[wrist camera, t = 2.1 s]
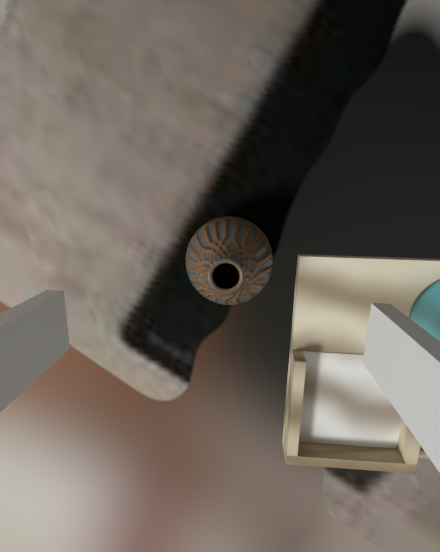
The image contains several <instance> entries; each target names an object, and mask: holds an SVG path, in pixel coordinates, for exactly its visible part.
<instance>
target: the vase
mask: <svg viewBox="0 0 440 552" xmlns="http://www.w3.org/2000/svg"><path fill="white" fill-rule="evenodd" d="M272 266H273V255H272V249H271V246H270V243H269V241H268V239H267V237H266V236H265V234H264V233H263V232H262V231H261V230H260V228H258V227H257V226H256V225H255V224H253V223H252V222H250V221H248V220H246V219H243V218H240V217H234V216H225V217H220V218H216V219H213V220H211V221H209V222H207V223H206V224H204V225H203V226H202V227H201V228H199V229H198V230H197V232H196V233H195V234H194V236H193V237H192V239H191V241H190V243H189V245H188V248H187V252H186V269H187V273H188V276H189V278H190V281H191V282H192V284H193V286H194V287H195V288H196V290H197V291H198V292H199V293H200V294H201V295H203V296H204V297H206V298H207V299H209V300H211V301H213V302H216V303H220V304H228V305H230V304H238V303H242V302H245V301H247V300H249V299H251V298H252V297H254V296H255V295H257V294H258V293H259V292H260V291H261V290H262V288H263V287H264V286H265V285H266V283H267V281H268V279H269V277H270V274H271V271H272Z"/></svg>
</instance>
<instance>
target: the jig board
mask: <svg viewBox="0 0 440 552" xmlns="http://www.w3.org/2000/svg"><path fill="white" fill-rule="evenodd" d="M371 303H385V304H391V305H393V306H394V307H395V308H397V309H398V310H399V311H401V312H402V313H403V314H404V315H406V316H407V317H408V318H410V319H411V320H412V321H414V322H415V323H416V324H418V325H419V326H420V327H421V328H423V329H424V330H425V331H427V332H428V333H429V334H431V335H432V336H433V337H435V338H436V339H437V340H439V341H440V259H429V258H400V257H369V256H339V255H307V254H298V259H297V271H296V284H295V295H294V308H293V319H292V332H291V344H290V356H289V368H288V381H287V393H286V405H285V417H284V429H283V447H284V454H285V460H286V464H290V465H304V466H319V467H332V468H346V469H360V470H374V471H388V472H402V473H415V470H416V465H417V460H418V458H429V457H428V455H427V454H426V452H425V451H424V449H423V448H422V447H421V445H420V444H419V442H418V441H417V440H416V438H415V437H414V435H413V434H412V432H411V431H410V430H409V428H408V427H407V425H406V424H405V422H404V421H403V420H402V418H401V417H400V415H399V414H398V412H397V411H396V410H395V408H394V407H393V405H392V404H391V402H390V401H389V400H388V398H387V397H386V395H385V394H384V392H383V391H382V390H381V388H380V387H379V385H378V384H377V382H376V381H375V380H374V378H373V377H372V375H371V374H370V373H369V371H368V370H367V368H366V367H365V365H364V364H363V358H364V351H365V344H366V337H367V330H368V323H369V316H370V309H371Z"/></svg>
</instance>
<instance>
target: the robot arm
mask: <svg viewBox="0 0 440 552" xmlns="http://www.w3.org/2000/svg"><path fill="white" fill-rule="evenodd" d="M69 348H70V347H69V337H68V327H67V317H66V308H65V298H64V291H54V290H46V291H44V292H42V293H40V294H38V295H36V296H35V297H33V298H31V299H29V300H27V301H25V302H23V303H21V304H19V305H17V306H15V307H13V308H11V309H9V310H7V311H5V312H3V313H1V314H0V412H1V411H2V410H3V409H4V408H5V407H6V406H8V405H9V404H10V403H11V402H12V401H13V400H14V399H15V398H16V397H17V396H19V395H20V394H21V393H22V392H23V391H24V390H25V389H26V388H27V387H28V386H29V385H31V384H32V383H33V382H34V381H35V380H36V379H37V378H38V377H39V376H40V375H41V374H42V373H44V371H46V370H47V369H48V368H49V367H50V366H51V365H52V364H53V363H54V362H55V361H57V360H58V359H59V358H60V357H61V356H62V355H63V354H64V353H65V352H66V351H68V350H69ZM363 364H364V365H365V367H366V368H367V370H368V371H369V373H370V374H371V375H372V377H373V378H374V380H375V381H376V382H377V384H378V385H379V387H380V388H381V390H382V391H383V392H384V394H385V395H386V397H387V398H388V400H389V401H390V402H391V404H392V405H393V407H394V408H395V410H396V411H397V412H398V414H399V415H400V417H401V418H402V420H403V421H404V422H405V424H406V425H407V427H408V428H409V430H410V431H411V432H412V434H413V435H414V437H415V438H416V440H417V441H418V442H419V444H420V445H421V447H422V448H423V449H424V451H425V452H426V454H427V455H428V457H429V458H430V459H431V461H432V462H433V464H434V465H435V467H436V468H437V469H438V471H439V472H440V341H439V340H437V339H436V338H435V337H433V336H432V335H431V334H429V333H428V332H427V331H425V330H424V329H423V328H421V327H420V326H419V325H418V324H416V323H415V322H414V321H412V320H411V319H410V318H408V317H407V316H406V315H404V314H403V313H402V312H401V311H399V310H398V309H397V308H395V307H394V306H393V305H391V304H385V303H371V309H370V316H369V323H368V330H367V337H366V344H365V351H364V358H363Z"/></svg>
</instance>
